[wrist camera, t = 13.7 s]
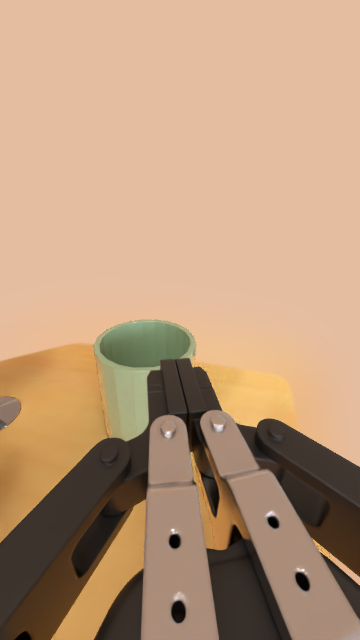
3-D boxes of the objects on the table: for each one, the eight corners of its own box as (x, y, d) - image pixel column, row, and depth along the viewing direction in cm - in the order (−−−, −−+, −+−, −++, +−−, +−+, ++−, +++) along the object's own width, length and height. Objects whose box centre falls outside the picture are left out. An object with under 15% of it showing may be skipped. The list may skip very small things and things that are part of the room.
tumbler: (156, 476, 24) (154, 387, 19) (87, 426, 30) (71, 346, 25) (204, 408, 33) (212, 334, 28) (144, 379, 38) (141, 313, 33)
